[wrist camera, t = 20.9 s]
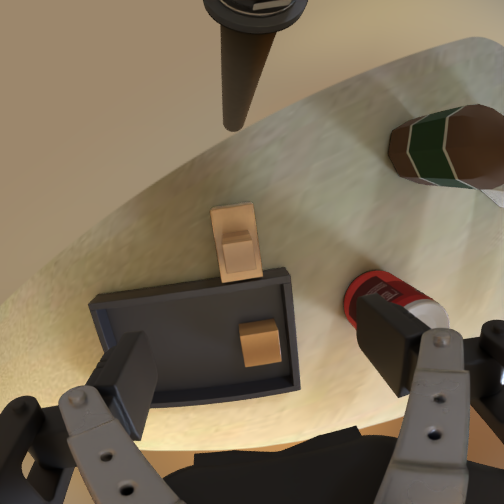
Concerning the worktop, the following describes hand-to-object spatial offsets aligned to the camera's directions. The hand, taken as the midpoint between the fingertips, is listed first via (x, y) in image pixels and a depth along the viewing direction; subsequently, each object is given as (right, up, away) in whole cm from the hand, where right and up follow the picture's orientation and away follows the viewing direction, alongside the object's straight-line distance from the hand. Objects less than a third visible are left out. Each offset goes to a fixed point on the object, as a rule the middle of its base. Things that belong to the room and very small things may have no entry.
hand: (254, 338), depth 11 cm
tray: (-6, -7, +24) cm, 26 cm away
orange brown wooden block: (+1, -6, +24) cm, 25 cm away
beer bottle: (+19, +15, +21) cm, 32 cm away
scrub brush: (-2, +5, +22) cm, 22 cm away
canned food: (+14, -2, +25) cm, 29 cm away
